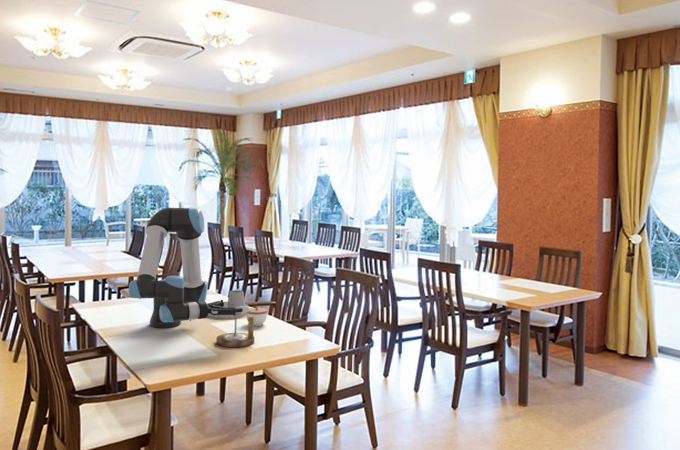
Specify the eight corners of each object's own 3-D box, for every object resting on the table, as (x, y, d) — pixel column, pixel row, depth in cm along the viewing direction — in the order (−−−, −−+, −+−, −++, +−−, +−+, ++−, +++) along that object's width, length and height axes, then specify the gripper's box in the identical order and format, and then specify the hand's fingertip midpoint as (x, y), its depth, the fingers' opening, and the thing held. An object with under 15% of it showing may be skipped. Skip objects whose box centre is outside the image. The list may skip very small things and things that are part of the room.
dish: (244, 309, 313) (244, 300, 312) (251, 317, 292) (251, 308, 291) (206, 310, 305) (206, 302, 305) (209, 319, 284) (209, 310, 284)
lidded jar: (262, 327, 269) (263, 309, 269) (242, 326, 271) (243, 308, 271) (269, 323, 280) (270, 305, 279) (250, 321, 282) (250, 304, 281)
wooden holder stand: (222, 349, 230) (223, 321, 229) (211, 339, 245) (212, 313, 244) (259, 344, 239) (260, 318, 238) (246, 335, 253) (247, 310, 253)
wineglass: (229, 339, 236) (230, 293, 235) (224, 335, 243) (226, 290, 242) (245, 338, 240) (247, 292, 239) (240, 334, 247) (242, 289, 245)
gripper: (188, 313, 242) (232, 308, 253) (206, 325, 221) (253, 319, 232) (188, 297, 241) (232, 293, 253) (206, 307, 220) (253, 303, 232)
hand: (242, 306), depth 243 cm, fingers open, 13 cm apart
